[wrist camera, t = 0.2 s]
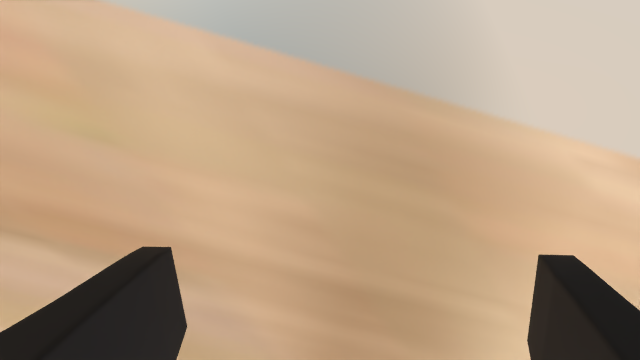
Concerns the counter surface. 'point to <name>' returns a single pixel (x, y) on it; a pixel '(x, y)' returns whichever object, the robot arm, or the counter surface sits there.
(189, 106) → the counter surface
